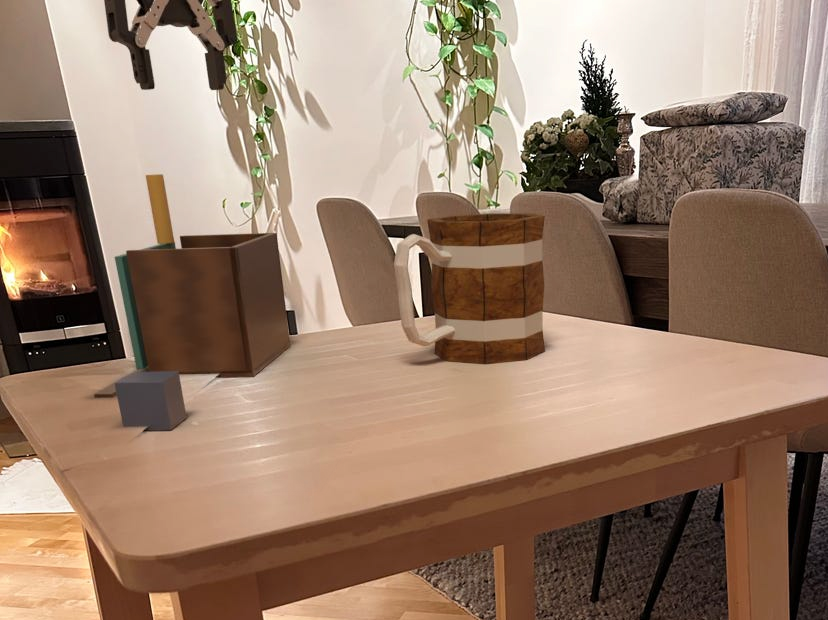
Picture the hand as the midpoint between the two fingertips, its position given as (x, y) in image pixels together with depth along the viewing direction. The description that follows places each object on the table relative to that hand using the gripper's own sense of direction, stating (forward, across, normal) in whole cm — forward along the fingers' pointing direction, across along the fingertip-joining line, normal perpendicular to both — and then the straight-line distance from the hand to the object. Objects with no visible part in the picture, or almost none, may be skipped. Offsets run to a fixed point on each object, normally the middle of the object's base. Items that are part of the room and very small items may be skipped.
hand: (183, 89), depth 107 cm
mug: (+29, -18, +27) cm, 44 cm away
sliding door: (+28, +8, 0) cm, 29 cm away
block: (+29, +22, +27) cm, 45 cm away
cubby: (+29, +7, +8) cm, 31 cm away
